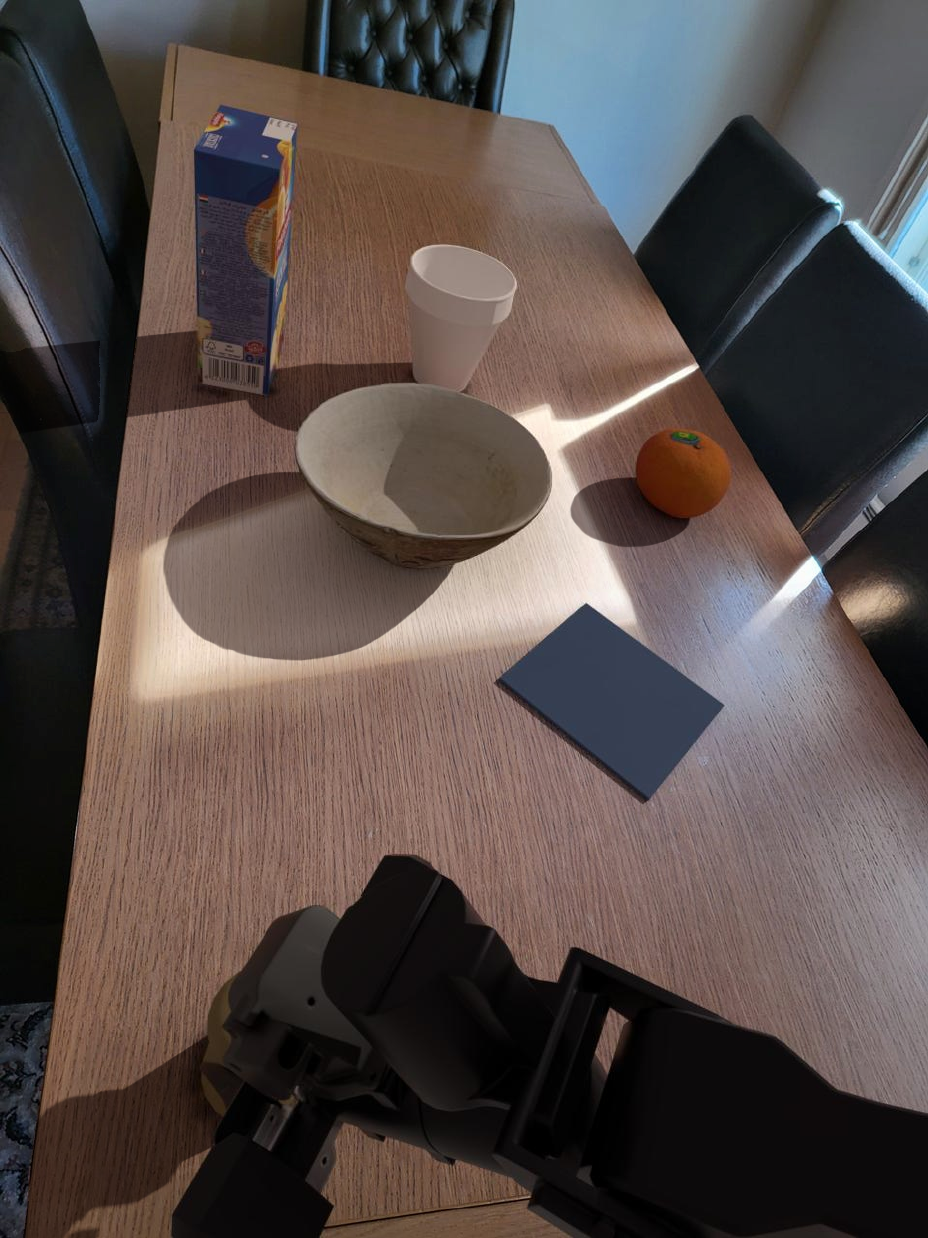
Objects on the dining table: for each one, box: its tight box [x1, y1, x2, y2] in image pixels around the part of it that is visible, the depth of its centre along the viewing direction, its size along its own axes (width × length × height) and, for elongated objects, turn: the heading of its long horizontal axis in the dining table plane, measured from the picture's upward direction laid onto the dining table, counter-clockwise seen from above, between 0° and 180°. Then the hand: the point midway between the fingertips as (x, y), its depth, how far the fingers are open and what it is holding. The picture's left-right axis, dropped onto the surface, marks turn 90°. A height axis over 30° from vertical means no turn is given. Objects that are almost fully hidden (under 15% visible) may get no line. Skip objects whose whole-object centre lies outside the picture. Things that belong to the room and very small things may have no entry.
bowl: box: [293, 382, 553, 569], centre depth 79 cm, size 24×24×10 cm
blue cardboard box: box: [193, 104, 298, 397], centre depth 86 cm, size 12×8×24 cm, turn 0°
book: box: [498, 602, 725, 802], centre depth 74 cm, size 16×14×1 cm
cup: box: [404, 244, 518, 393], centre depth 96 cm, size 12×12×14 cm
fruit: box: [635, 428, 732, 519], centre depth 92 cm, size 11×10×8 cm
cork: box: [200, 971, 296, 1117], centre depth 45 cm, size 6×6×11 cm
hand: (236, 1021), depth 44 cm, fingers closed on cork, 5 cm apart
